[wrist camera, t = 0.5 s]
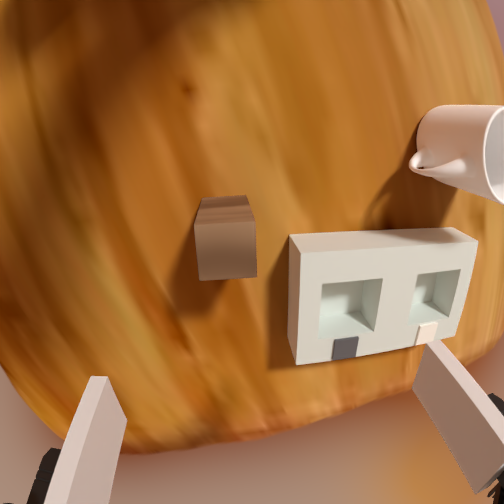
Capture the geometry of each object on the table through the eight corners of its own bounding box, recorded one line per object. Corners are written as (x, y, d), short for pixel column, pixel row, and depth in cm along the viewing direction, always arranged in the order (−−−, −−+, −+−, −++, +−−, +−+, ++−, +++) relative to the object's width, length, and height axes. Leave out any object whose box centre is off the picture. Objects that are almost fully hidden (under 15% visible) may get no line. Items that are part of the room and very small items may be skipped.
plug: (202, 197, 29) (193, 225, 21) (245, 195, 29) (255, 221, 21) (205, 239, 31) (199, 280, 22) (247, 236, 31) (257, 277, 22)
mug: (376, 122, 28) (442, 124, 18) (460, 99, 27) (529, 100, 17) (398, 202, 31) (462, 234, 21) (475, 170, 30) (541, 190, 20)
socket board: (289, 234, 31) (301, 254, 26) (452, 227, 32) (480, 242, 28) (287, 336, 35) (296, 367, 30) (434, 315, 37) (455, 337, 32)
